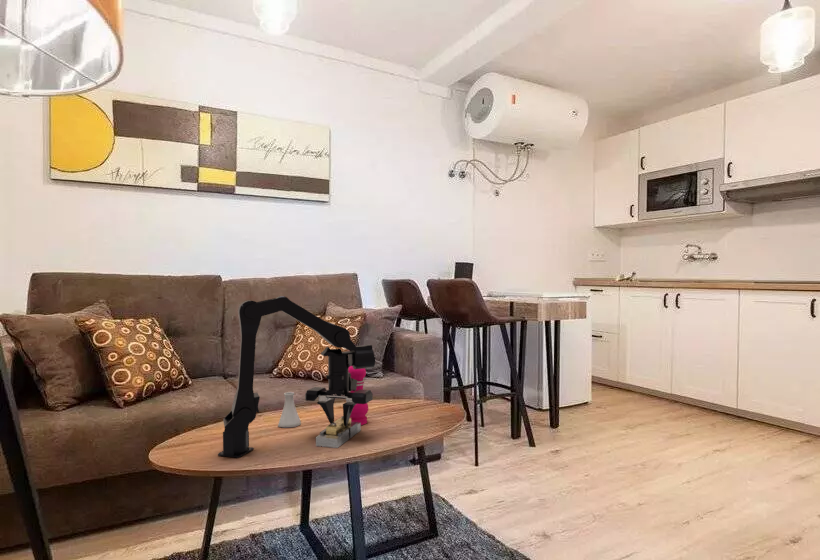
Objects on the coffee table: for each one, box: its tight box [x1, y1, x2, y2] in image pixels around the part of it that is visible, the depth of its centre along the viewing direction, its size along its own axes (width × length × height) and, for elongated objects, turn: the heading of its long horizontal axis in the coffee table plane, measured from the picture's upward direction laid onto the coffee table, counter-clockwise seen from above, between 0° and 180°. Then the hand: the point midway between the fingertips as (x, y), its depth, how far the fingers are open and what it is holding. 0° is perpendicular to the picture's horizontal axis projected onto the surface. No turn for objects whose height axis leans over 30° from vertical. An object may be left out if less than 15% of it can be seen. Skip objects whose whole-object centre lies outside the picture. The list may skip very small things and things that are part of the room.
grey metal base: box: [315, 422, 362, 449], centre depth 134 cm, size 16×6×3 cm, turn 163°
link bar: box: [325, 415, 351, 436], centre depth 134 cm, size 10×3×4 cm, turn 163°
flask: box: [277, 391, 302, 429], centre depth 147 cm, size 7×7×10 cm
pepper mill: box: [348, 365, 369, 426], centre depth 148 cm, size 7×7×20 cm
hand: (339, 425), depth 134 cm, fingers open, 4 cm apart
